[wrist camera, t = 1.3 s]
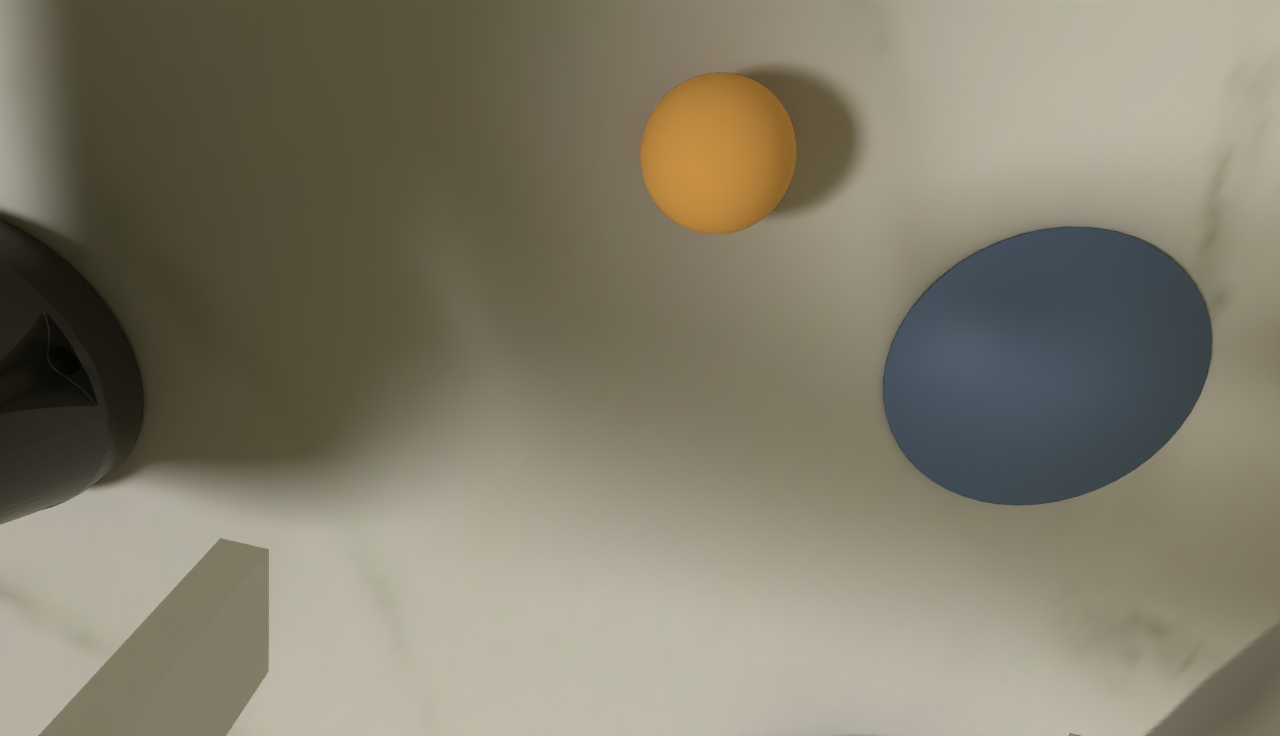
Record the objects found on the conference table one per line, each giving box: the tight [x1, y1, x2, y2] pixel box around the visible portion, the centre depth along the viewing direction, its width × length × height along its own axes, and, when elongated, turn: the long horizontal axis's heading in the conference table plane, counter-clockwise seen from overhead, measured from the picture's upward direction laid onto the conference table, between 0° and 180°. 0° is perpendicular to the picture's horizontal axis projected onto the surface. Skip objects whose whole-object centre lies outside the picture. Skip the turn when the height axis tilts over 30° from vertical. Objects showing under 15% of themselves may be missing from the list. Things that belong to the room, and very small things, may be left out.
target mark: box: [883, 227, 1212, 505], centre depth 32 cm, size 13×13×1 cm
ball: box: [640, 72, 797, 234], centre depth 26 cm, size 6×6×6 cm
